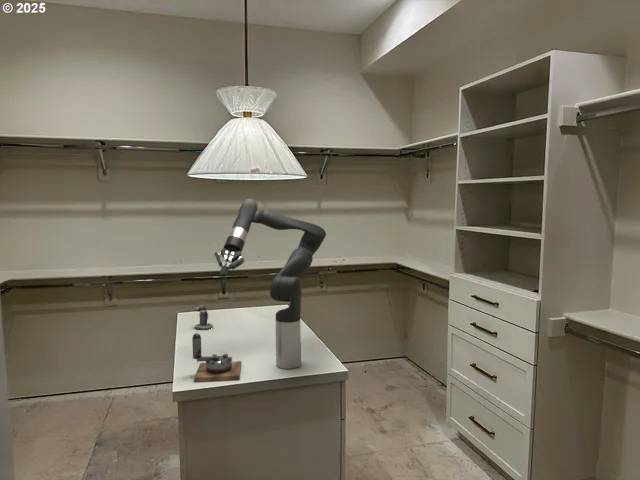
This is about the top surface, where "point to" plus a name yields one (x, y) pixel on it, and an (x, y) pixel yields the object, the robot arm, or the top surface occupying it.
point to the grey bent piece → (210, 358)
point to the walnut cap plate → (228, 375)
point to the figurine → (203, 319)
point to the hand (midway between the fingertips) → (222, 276)
